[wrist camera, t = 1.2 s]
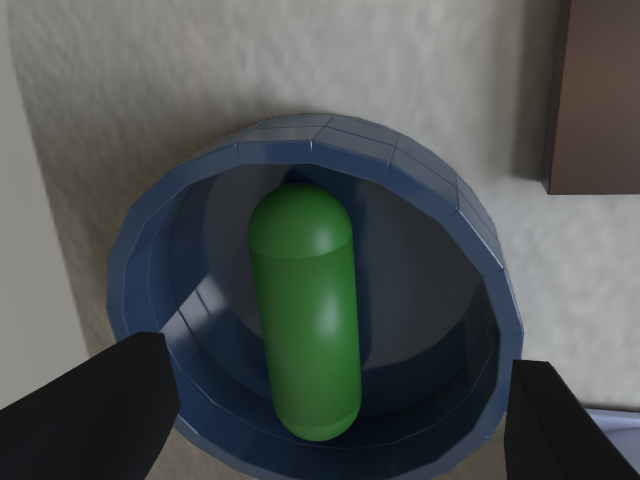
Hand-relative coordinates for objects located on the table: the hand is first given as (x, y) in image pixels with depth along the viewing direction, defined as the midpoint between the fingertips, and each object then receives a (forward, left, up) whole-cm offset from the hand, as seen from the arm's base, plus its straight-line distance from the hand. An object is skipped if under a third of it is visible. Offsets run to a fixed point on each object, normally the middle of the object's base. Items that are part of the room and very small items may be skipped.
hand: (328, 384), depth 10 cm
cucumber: (-3, +2, -9) cm, 10 cm away
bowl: (-3, +2, -10) cm, 10 cm away
